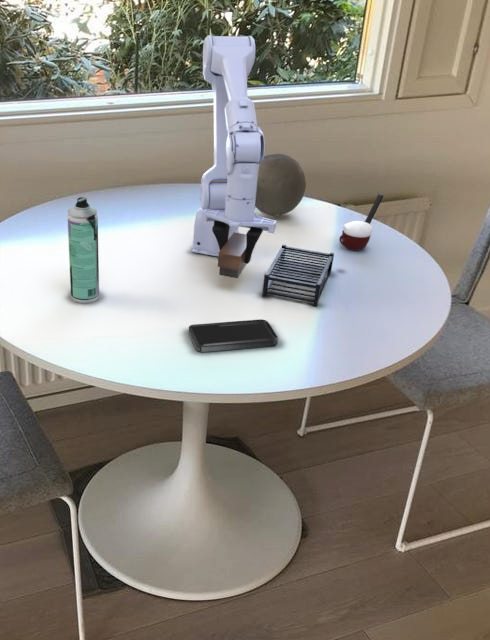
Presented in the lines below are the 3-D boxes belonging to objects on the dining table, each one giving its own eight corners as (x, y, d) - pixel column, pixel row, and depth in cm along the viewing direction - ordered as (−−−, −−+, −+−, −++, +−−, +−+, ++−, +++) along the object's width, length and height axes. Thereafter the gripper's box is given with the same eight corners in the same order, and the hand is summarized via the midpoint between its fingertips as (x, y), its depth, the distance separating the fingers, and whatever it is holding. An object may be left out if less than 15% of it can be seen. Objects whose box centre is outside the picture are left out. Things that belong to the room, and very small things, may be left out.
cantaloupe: (245, 202, 196) (251, 144, 188) (301, 207, 194) (309, 149, 186) (242, 223, 184) (247, 162, 176) (301, 229, 183) (309, 167, 174)
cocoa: (339, 253, 171) (347, 202, 165) (332, 242, 177) (340, 191, 170) (380, 253, 172) (390, 202, 166) (372, 242, 178) (381, 192, 171)
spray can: (103, 293, 151) (102, 196, 140) (92, 305, 147) (89, 206, 136) (78, 288, 153) (74, 191, 142) (66, 300, 148) (61, 201, 137)
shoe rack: (262, 296, 153) (264, 274, 150) (280, 264, 165) (282, 244, 163) (316, 307, 150) (320, 285, 147) (330, 273, 162) (334, 253, 160)
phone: (279, 340, 136) (197, 347, 133) (279, 345, 137) (197, 352, 134) (266, 318, 142) (187, 324, 139) (265, 323, 143) (187, 329, 140)
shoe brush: (216, 275, 152) (218, 252, 149) (232, 254, 161) (233, 232, 158) (238, 279, 151) (240, 256, 148) (252, 258, 160) (254, 235, 157)
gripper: (198, 195, 146) (195, 260, 154) (273, 207, 142) (265, 273, 150) (209, 184, 152) (205, 247, 159) (281, 195, 148) (274, 259, 155)
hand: (235, 259), depth 155 cm, fingers closed on shoe brush, 4 cm apart
